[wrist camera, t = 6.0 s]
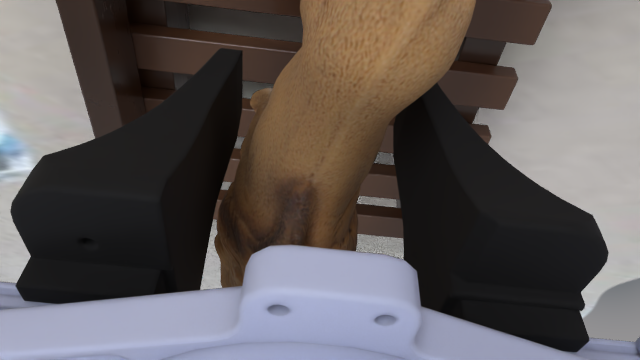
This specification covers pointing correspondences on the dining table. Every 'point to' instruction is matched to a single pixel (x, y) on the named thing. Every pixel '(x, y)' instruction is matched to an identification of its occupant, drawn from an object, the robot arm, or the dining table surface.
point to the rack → (267, 69)
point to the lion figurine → (331, 122)
